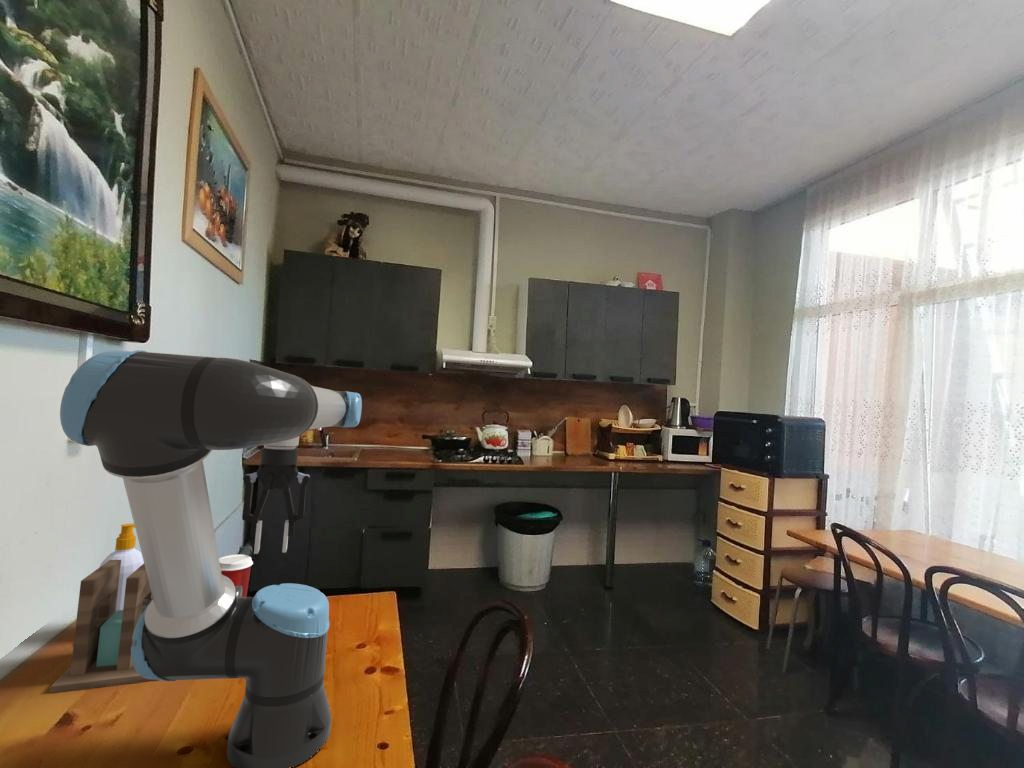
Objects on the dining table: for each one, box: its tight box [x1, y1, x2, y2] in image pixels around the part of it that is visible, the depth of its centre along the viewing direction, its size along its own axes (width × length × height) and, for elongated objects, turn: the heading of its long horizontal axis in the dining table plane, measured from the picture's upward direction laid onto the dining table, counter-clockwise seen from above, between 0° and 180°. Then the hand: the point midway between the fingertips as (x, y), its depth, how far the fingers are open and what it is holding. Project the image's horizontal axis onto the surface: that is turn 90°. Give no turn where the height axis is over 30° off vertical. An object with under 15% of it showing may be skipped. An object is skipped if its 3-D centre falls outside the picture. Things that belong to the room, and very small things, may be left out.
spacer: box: [96, 610, 123, 667], centre depth 94 cm, size 8×4×8 cm, turn 21°
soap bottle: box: [98, 522, 144, 611], centre depth 106 cm, size 9×9×24 cm
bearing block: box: [49, 560, 154, 694], centre depth 95 cm, size 18×17×18 cm
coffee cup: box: [219, 554, 254, 597], centre depth 113 cm, size 8×8×15 cm
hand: (270, 551), depth 104 cm, fingers open, 5 cm apart
